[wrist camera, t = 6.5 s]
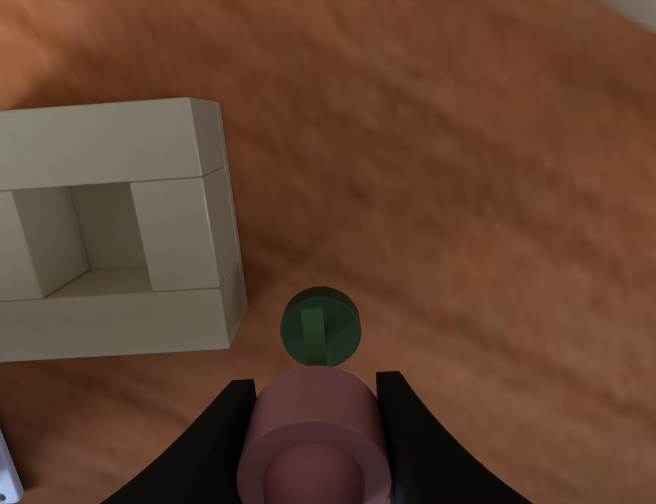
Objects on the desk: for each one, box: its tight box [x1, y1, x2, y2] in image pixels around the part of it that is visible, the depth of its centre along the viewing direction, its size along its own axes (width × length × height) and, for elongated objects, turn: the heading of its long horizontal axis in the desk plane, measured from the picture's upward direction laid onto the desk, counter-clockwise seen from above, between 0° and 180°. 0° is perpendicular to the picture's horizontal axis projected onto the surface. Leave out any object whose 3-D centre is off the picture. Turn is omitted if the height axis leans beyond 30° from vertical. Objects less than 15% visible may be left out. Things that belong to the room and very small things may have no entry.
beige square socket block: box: [0, 97, 248, 362], centre depth 16 cm, size 9×9×4 cm
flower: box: [236, 287, 392, 504], centre depth 12 cm, size 3×4×9 cm
